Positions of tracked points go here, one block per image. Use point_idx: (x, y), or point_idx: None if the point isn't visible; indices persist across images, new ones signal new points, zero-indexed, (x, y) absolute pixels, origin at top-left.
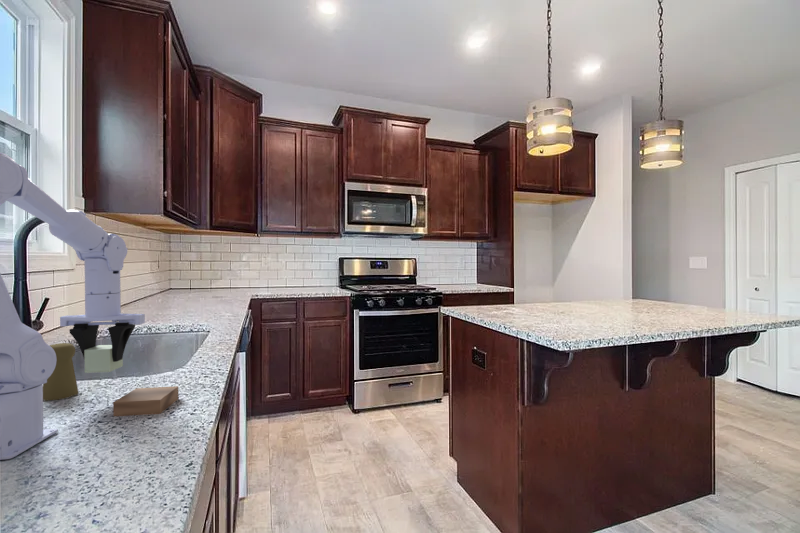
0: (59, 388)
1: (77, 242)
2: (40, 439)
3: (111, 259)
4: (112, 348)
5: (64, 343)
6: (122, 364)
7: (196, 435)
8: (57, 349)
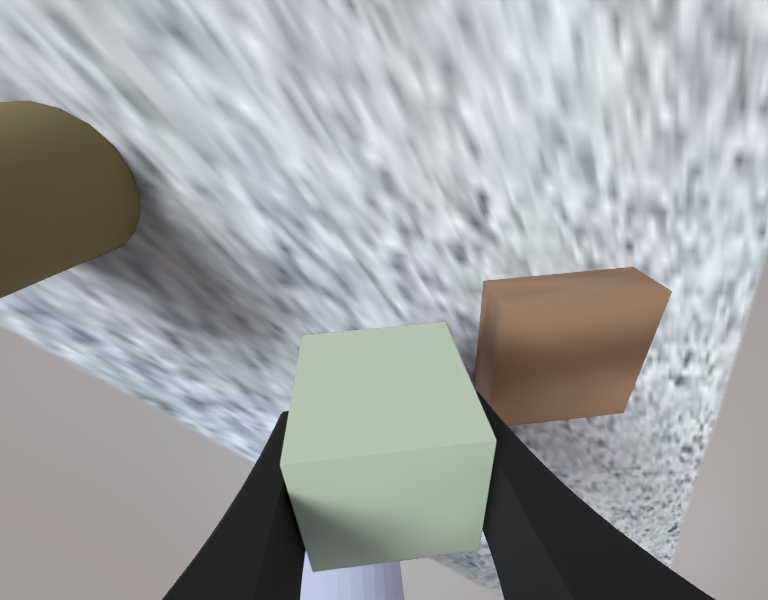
0: (88, 259)
1: None
2: None
3: None
4: (487, 536)
5: None
6: (448, 331)
7: (685, 467)
8: None
